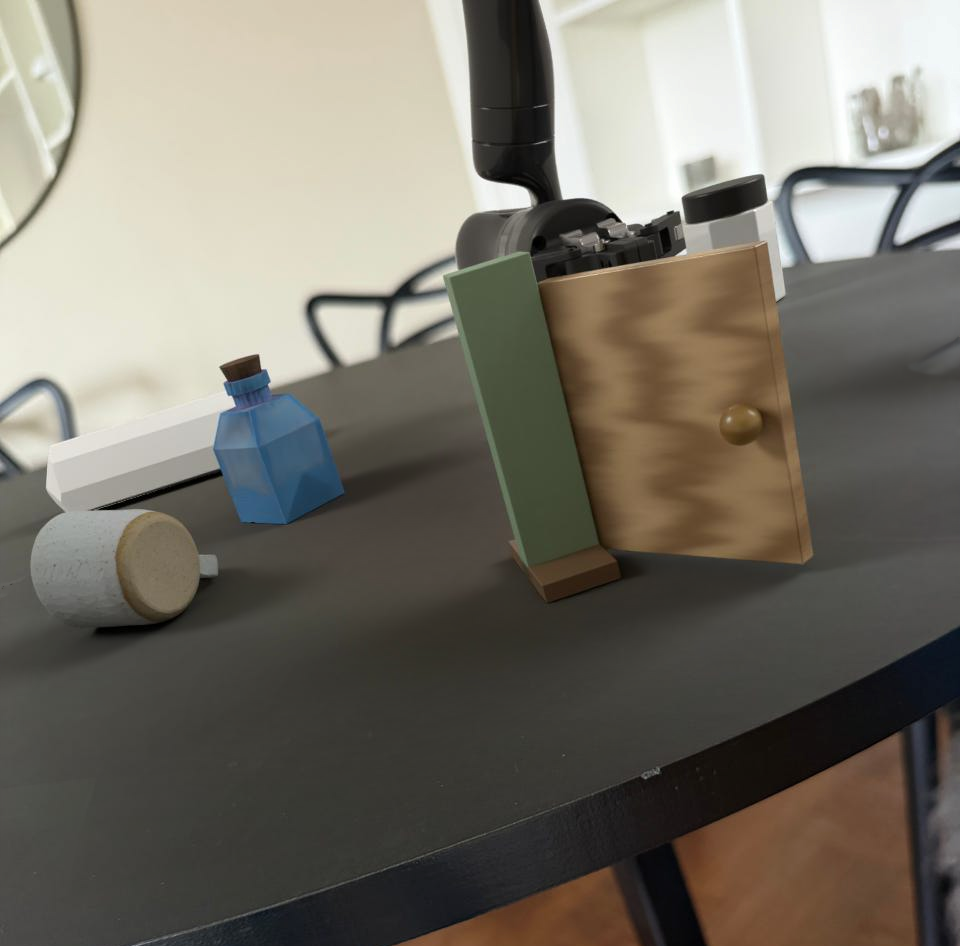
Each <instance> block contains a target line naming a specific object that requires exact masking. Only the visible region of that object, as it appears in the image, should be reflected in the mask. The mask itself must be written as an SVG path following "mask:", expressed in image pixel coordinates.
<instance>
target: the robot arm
mask: <svg viewBox="0 0 960 946" xmlns="http://www.w3.org/2000/svg"><path fill="white" fill-rule="evenodd" d="M461 5H462V12H463V20H464V21H463V22H464V28H465V29H464V30H465V38H466V48H467V49H466V50H467V63H468V81H469V82H468V83H469V107H470V111H469V112H470V127H471V128H470V133H471V134H470V135H471V154H472V164H473V168H474V171H475V172H476V174H477V175H478V176H479V177H480V178H481V179H483V180H485V181H488V182H492V183H496V184H503V185H511V186H516V187H519V188H523V189H525V190H526V191H527V193H528V195H529V200H530V206H526V207H516V208H504V209H503V208H502V209H498V210H497V209H494V210H493V209H492V210H483V211H477V212H474V213H473V214H470V215H469V216H468V217H467V218H466V219H465V220H464V221H463V222H462V224H461V225H460V227H459V230H458V232H457V235H456V239H455V244H454V245H455V246H454V258H455V264H456V267H457V268H456V269H457V271H458V270H461V269H464V268H468V267H471V266H474V265H477V264H481V263H484V262H487V261H490V260H493V259H497V258H500V257H503V256H506V255H510V254H513V253H516V252H529V253H530V256H531V261H532V265H533V269H534V273H535V277H536V281H537V283H539V282H541V281H543V280H546V279H548V278H554V277H560V276H565V275H571V274H577V273H582V272H588V271H594V270H600V269H605V268H611V267H617V266H622V265H628V264H634V263H640V262H645V261H651V260H657V259H662V258H668V257H674V256H678V255H679V254H680V253H682V252H683V251H684V250H686V243H685V238H684V232H683V222H682V217H681V212H680V210H676V211H675V210H674V209H673V210H669V211H666V214H662V215H661V216H659V217H656V218H653V219H651V221H650V222H648V223H644V225H643V224H641V223H631V224H627V223H625V222H623V221H622V219H621V218H620V217H619V216H618V215H617V214H616V213H615V211H614V210H612V209H611V208H610V207H609V206H607V205H606V204H605V203H603V202H601V201H598V200H595V199H592V198H586V197H574V198H566V199H564V197H563V193H562V187H561V183H560V178H559V172H558V167H557V156H556V136H555V135H556V89H555V88H556V85H555V84H556V83H555V69H554V61H553V59H554V58H553V54H552V53H553V52H552V47H551V41H550V38H549V34H548V29H547V26H546V22H545V17H544V14H543V11H542V6H541V4H540V0H461Z"/></svg>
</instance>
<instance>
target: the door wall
mask: <svg viewBox="0 0 960 946" xmlns="http://www.w3.org/2000/svg"><path fill="white" fill-rule="evenodd" d="M442 278H443V279H442V280H443V282H444V286H445V289H446V293H447V297H448V300H449V304H450V307H451V311H452V315H453V319H454V322H455V326H456V329H457V333H458V337H459V341H460V344H461V348H462V351H463V356H464V358H465V363H466V366H467V370H468V373H469V374H468V375H469V377H470V380H471V384H472V388H473V392H474V396H475V399H476V402H477V406H478V409H479V414H480V417H481V421H482V424H483V428H484V431H485V435H486V438H487V442H488V447H489V449H490V454H491V457H492V460H493V464H494V468H495V471H496V475H497V479H498V481H499V482H498V483H499V487H500V490H501V493H502V497H503V501H504V505H505V508H506V512H507V515H508V518H509V522H510V526H511V529H512V533H513V537H514V539H510V540H508V542H507V543H508V547H509V550H510V554H511V557H512V559H513V560H514V561H515V563H516V564H517V565H518V566H519V567H520V569H521V571H522V572H523V573H524V575H525V576H526V577H527V579H528V580H529V581H530V583H531V584H532V585H533V586H534V588H535V589H536V590H537V592H538V593H539V595H540V596H541V597H542V599H543V600H544V601H545V602H546V603H547V604H549V603H552V602H555V601H557V600H561V599H564V598H566V597H569V596H573V595H575V594H579V593H581V592H584V591H587V590H590V589H594V588H596V587H599V586H602V585H605V584H609V583H611V582H614V581H617V580H620V579H621V578H622V576H621V572H620V568H619V564H618V560H617V559H616V558H615V557H613V555H612V554H610V553H609V551H608V550H607V549H604V548H603V547H602V546H601V545H600V544H599V541H598V537H597V533H596V528H595V524H594V520H593V516H592V512H591V507H590V503H589V499H588V495H587V491H586V486H585V482H584V478H583V474H582V470H581V466H580V461H579V457H578V453H577V449H576V445H575V440H574V436H573V432H572V428H571V424H570V420H569V415H568V411H567V407H566V403H565V399H564V394H563V390H562V386H561V382H560V378H559V374H558V369H557V365H556V361H555V357H554V353H553V348H552V344H551V340H550V336H549V332H548V327H547V323H546V319H545V315H544V311H543V307H542V302H541V298H540V294H539V290H538V286H537V281H536V277H535V273H534V269H533V265H532V261H531V256H530V253H529V252H516V253H513V254H510V255H506V256H503V257H500V258H497V259H493V260H490V261H487V262H484V263H481V264H477V265H474V266H471V267H468V268H464V269H461V270H458V269H457V270H454V271H452V272H448V273H445V274H443V275H442Z"/></svg>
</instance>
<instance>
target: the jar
mask: <svg viewBox="0 0 960 946" xmlns="http://www.w3.org/2000/svg"><path fill="white" fill-rule="evenodd" d="M766 185H767V184H766V177H765V175H764V174H762V173H756V174H751V175H747V176H742V177H738V178H734V179H729V180H725V181H722V182H719V183H715V184H712V185H709V186H706V187H703V188H699V189H697V190H694V191H691V192H688V193H686V194H683V196H682V197H681V204H682V210H683V216H684V221H685V223H684V224H682V226H683V232H684V238H685V243H686V249H685V252H686V254H691V253H697V252H702V251H708V250H714V249H720V248H725V247H731V246H737V245H742V244H748V243H754V242H760V241H767V243H768V250H769V257H770V263H771V270H772V277H773V284H774V291H775V298H776V303H777V302H779V301H780V300H781V299H783V298H784V297H786V286H785V281H784V280H785V279H784V271H783V266H782V265H783V264H782V259H781V253H780V246H779V245H780V244H779V238H778V230H777V225H776V217H775V210H774V203H773V201H772V200H769V199H768V190H767V186H766Z"/></svg>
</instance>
